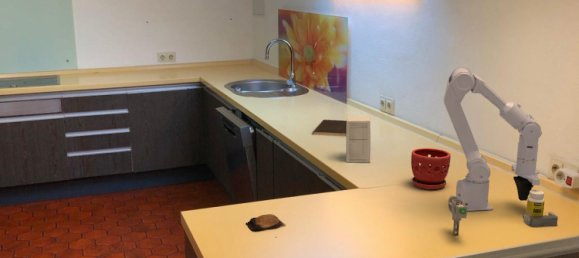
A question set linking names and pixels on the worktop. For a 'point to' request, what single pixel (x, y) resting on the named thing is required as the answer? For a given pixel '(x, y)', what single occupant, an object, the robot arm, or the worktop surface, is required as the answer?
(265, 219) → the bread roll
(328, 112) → the worktop surface
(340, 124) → the hardcover book
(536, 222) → the jig
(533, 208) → the supplement bottle
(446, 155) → the plant pot
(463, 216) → the mechanical component
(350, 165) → the worktop surface
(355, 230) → the worktop surface
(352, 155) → the beige miniature cabinet
